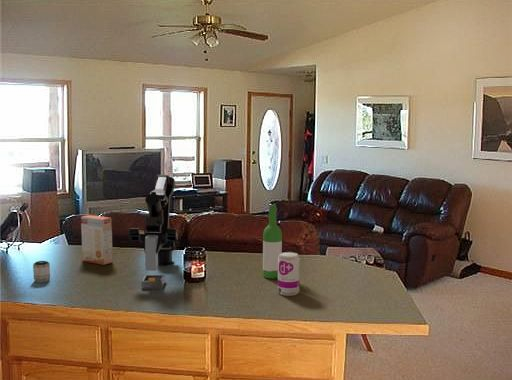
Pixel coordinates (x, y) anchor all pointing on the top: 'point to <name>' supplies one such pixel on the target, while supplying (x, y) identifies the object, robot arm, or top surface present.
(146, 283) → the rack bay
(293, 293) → the supplement can
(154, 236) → the grey rectangular prism
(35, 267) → the camera lens
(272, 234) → the wine bottle
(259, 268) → the top surface
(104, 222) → the cracker box
